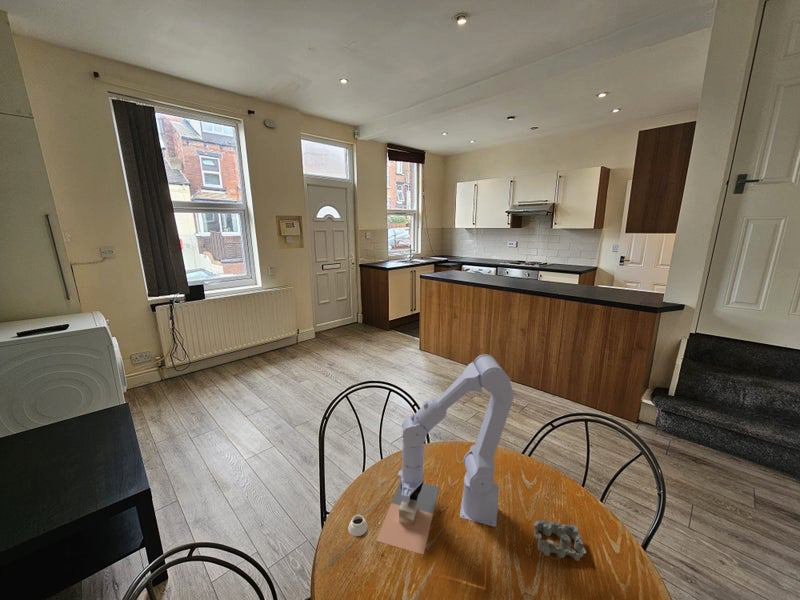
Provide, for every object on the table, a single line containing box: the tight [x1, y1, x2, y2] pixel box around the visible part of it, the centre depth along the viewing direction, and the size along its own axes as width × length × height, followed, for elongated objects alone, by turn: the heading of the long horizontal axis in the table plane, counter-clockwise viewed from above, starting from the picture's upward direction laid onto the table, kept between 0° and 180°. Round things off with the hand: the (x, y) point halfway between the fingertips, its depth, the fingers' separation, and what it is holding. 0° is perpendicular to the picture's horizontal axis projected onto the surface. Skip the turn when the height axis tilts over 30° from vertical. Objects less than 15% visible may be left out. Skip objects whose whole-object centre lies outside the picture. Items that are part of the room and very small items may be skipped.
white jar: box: [347, 514, 369, 537], centre depth 83 cm, size 5×3×5 cm
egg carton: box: [533, 518, 587, 562], centre depth 79 cm, size 11×8×4 cm
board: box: [375, 479, 440, 555], centre depth 88 cm, size 12×22×1 cm, turn 163°
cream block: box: [399, 499, 418, 526], centre depth 85 cm, size 4×4×4 cm
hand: (411, 504), depth 89 cm, fingers closed
